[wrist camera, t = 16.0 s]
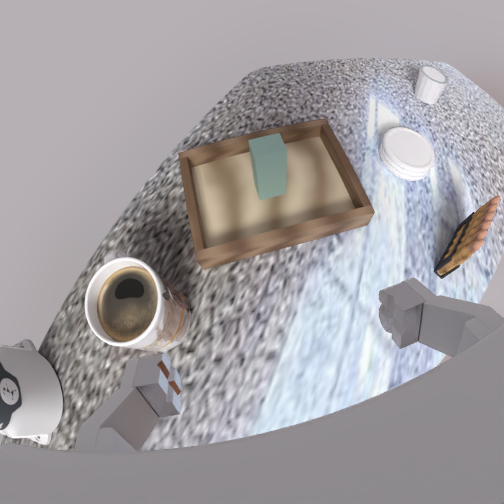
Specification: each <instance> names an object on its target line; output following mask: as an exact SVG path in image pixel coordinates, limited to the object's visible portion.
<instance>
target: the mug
mask: <svg viewBox="0 0 504 504" xmlns="http://www.w3.org/2000/svg"><path fill="white" fill-rule="evenodd" d="M85 313H86V317H87V321H88V323H89V325H90V327H91V329H92V330H93V332H94V333H95V334H96V335H97V337H99V338H100V339H101V340H102V341H104V342H106V343H108V344H110V345H113V346H119V347H126V348H132V349H139V350H147V351H155V352H161V351H166V350H169V349H171V348H173V347H175V346H176V345H178V344H179V343H180V342H181V341H182V340H183V338H184V337H185V335H186V334H187V332H188V329H189V326H190V321H191V311H190V306H189V303H188V301H187V299H186V297H185V296H184V294H183V293H182V292H181V291H180V290H179V289H178V288H176V287H175V286H174V285H172V284H171V283H170V282H169V281H167V280H166V279H165V278H164V277H162V276H161V275H160V274H158V273H157V272H156V271H155V270H153V269H152V268H151V267H150V266H149V265H147V264H146V263H145V262H143V261H141V260H139V259H136V258H132V257H128V256H127V255H126V254H125V253H123V252H122V251H120V250H117V249H114V250H112V251H111V252H109V253H108V254H106V255H105V259H104V265H103V266H102V267H101V268H100V269H99V270H98V271H97V272H96V273H95V275H94V276H93V277H92V279H91V281H90V283H89V286H88V288H87V292H86V296H85Z"/></svg>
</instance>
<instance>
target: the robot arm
mask: <svg viewBox="0 0 504 504" xmlns="http://www.w3.org/2000/svg"><path fill="white" fill-rule="evenodd" d="M379 301H380V302H381V303H382V305H381V306H380V308H379V318H380V322H381V324H382V326H383V328H384V329H385V331H386V332H389V333H392V339H393V341H394V342H395V343H396V344H397V346H398V347H399V348H400V349H401V348H404V347H406V346H408V345H411V344H413V343H415V342H417V341H419V342H420V343H422V344H424V345H426V346H429V347H431V348H433V349H435V350H438V351H440V352H442V353H444V354H447V355H449V356H451V357H453V358H451V359H449V360H448V361H446V362H444V363H442V364H440V365H439V366H437V367H435V368H433V369H431V370H429V371H428V372H426V373H424V374H422V375H420V376H418V377H416V378H414V379H412V380H410V381H408V382H406V383H404V384H402V385H400V386H397V387H395V388H393V389H391V390H389V391H386V392H384V393H382V394H380V395H377V396H375V397H373V398H370V399H368V400H365V401H363V402H360V403H358V404H355V405H353V406H350V407H347V408H345V409H342V410H339V411H336V412H334V413H331V414H328V415H325V416H322V417H319V418H316V419H313V420H309V421H306V422H303V423H300V424H296V425H293V426H289V427H285V428H282V429H278V430H274V431H270V432H266V433H262V434H258V435H253V436H249V437H244V438H239V439H234V440H229V441H224V442H218V443H212V444H205V445H199V446H191V447H183V448H174V449H164V450H151V451H140V449H141V448H142V446H143V444H144V443H145V441H146V440H147V438H148V437H149V435H150V433H151V432H152V430H153V429H154V427H155V426H156V424H157V422H158V421H159V419H160V417H166V416H172V415H178V414H180V407H181V400H180V399H179V397H178V395H179V394H180V392H181V381H180V377H179V374H178V372H177V370H176V369H175V368H174V367H172V366H170V361H171V360H170V358H169V357H168V355H167V354H166V353H159V354H154V355H148V356H142V357H137V358H132V359H129V360H128V361H127V364H126V367H125V371H124V375H123V379H122V382H121V386H120V389H118V390H116V391H115V392H114V393H113V394H112V395H111V396H110V397H109V398H108V399H107V400H106V401H105V402H104V403H103V404H102V405H101V406H100V407H99V408H98V409H97V410H96V411H95V412H94V413H93V414H92V415H91V417H90V418H89V419H88V420H87V421H86V422H85V423H84V424H83V425H82V426H81V427H80V429H79V433H78V436H77V440H76V444H75V447H74V451H68V450H56V449H46V448H37V447H30V446H24V445H18V444H13V443H6V444H4V445H2V446H1V447H0V504H504V318H503V317H501V316H500V315H499V314H498V313H496V311H494V310H493V309H492V308H491V307H489V306H485V305H480V304H476V303H472V302H467V301H463V300H458V299H454V298H449V297H445V296H441V295H440V296H436V295H435V294H433V293H432V292H431V291H430V290H429V289H428V288H426V287H425V286H424V285H423V284H422V283H420V282H419V281H418V280H417V279H415V278H410V279H407V280H405V281H403V282H401V283H398V284H396V285H393V286H391V287H388V288H386V289H383V290H380V292H379ZM62 411H63V397H62V391H61V387H60V383H59V380H58V378H57V375H56V373H55V371H54V369H53V368H52V366H51V365H50V363H49V362H48V361H47V360H46V359H45V358H44V357H43V356H42V355H40V354H39V353H38V352H37V350H36V348H35V347H34V344H33V343H32V341H30V340H23V341H21V342H20V343H18V344H16V345H14V346H4V345H0V434H3V435H8V437H13V438H29V439H31V440H33V441H36V442H38V443H41V444H44V445H45V444H49V443H50V441H51V436H52V432H53V430H54V429H55V428H56V427H57V425H58V424H59V422H60V419H61V416H62Z"/></svg>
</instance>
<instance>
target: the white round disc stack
mask: <svg viewBox="0 0 504 504" xmlns="http://www.w3.org/2000/svg"><path fill="white" fill-rule="evenodd" d="M379 153H380V157H381V160H382V162H383V164H384V165H385V166H386V167H387V169H388V170H389V171H391V172H392V173H393V174H395V175H396V176H398V177H400V178H402V179H405V180H409V181H418V180H421V179H423V178H424V177H426V176H427V175H428V173H429V171H430V170H431V168H432V167H433V165H434V161H435V155H434V151H433V149H432V147H431V145H430V144H429V142H428V141H427V140H426V139H425V138H424V137H423V136H422V135H421V134H419V133H418V132H416V131H414V130H412V129H409V128H405V127H394V128H391V129H389V130H388V131H387V132H386V133H385V134H384V136H383V139H382V142H381V144H380V148H379Z"/></svg>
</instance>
